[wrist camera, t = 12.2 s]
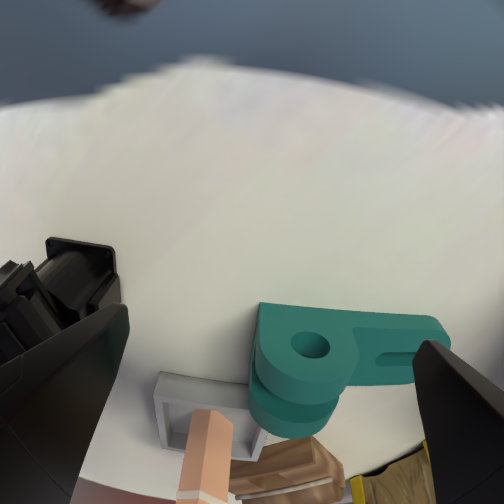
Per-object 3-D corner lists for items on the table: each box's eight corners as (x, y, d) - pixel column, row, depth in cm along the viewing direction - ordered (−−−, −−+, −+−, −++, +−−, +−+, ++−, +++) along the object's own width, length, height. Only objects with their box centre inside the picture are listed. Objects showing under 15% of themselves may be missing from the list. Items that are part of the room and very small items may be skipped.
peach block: (192, 410, 29) (175, 504, 19) (211, 405, 28) (197, 503, 18) (215, 429, 30) (204, 517, 21) (234, 424, 30) (227, 515, 20)
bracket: (249, 361, 27) (246, 436, 20) (260, 300, 24) (259, 378, 17) (423, 367, 27) (449, 425, 20) (451, 315, 24) (490, 373, 17)
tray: (166, 428, 32) (161, 448, 30) (160, 371, 28) (153, 394, 25) (257, 441, 33) (257, 461, 30) (275, 387, 28) (276, 412, 25)
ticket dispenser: (213, 457, 35) (208, 500, 29) (310, 433, 32) (315, 482, 26) (258, 484, 40) (258, 520, 34) (342, 464, 36) (348, 503, 30)
